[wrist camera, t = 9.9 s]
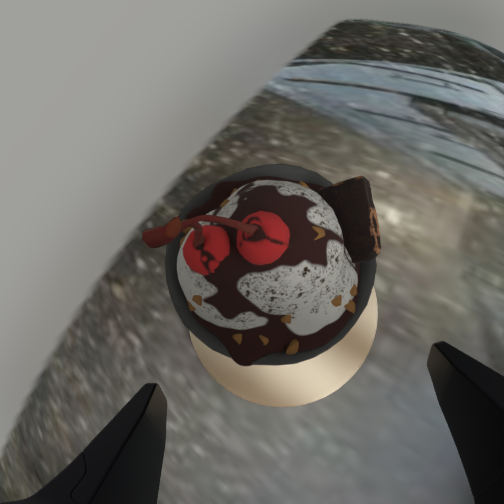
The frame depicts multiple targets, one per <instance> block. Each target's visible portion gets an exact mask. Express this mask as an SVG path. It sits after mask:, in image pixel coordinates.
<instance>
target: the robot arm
mask: <svg viewBox="0 0 504 504" xmlns="http://www.w3.org/2000/svg"><path fill="white" fill-rule="evenodd" d="M427 367H428V370H429V373H430V376H431V379H432V382H433V386H434V389H435V392H436V395H437V399H438V402H439V405H440V407H441V410H442V412H443V414H444V417H445V419H446V422H447V424H448V427H449V429H450V432H451V434H452V437H453V439H454V442H455V445H456V447H457V450H458V453H459V455H460V458H461V461H462V464H463V467H464V469H465V472H466V475H467V478H468V481H469V484H470V488H471V491H472V494H473V497H474V501H475V504H504V376H502V375H500V374H499V373H497V372H495V371H494V370H492V369H490V368H489V367H487V366H485V365H484V364H482V363H480V362H479V361H477V360H475V359H474V358H472V357H470V356H468V355H467V354H465V353H463V352H462V351H460V350H458V349H457V348H455V347H453V346H451V345H450V344H448V343H446V342H444V341H440V342H437V343H434V344H433V345H432V346H431V349H430V353H429V356H428V360H427ZM166 417H167V400H166V398H165V396H164V394H163V392H162V390H161V388H160V386H159V385H158V384H157V383H147V384H145V385H144V386H143V387H142V388H141V389H140V390H139V391H138V392H137V393H136V394H135V395H134V397H133V398H132V399H131V400H130V401H129V402H128V403H127V404H126V405H125V406H124V407H123V408H122V409H121V410H120V412H119V413H118V414H117V415H116V416H115V417H114V418H113V419H112V420H111V421H110V422H109V423H108V424H107V425H106V427H105V428H104V429H103V430H102V431H101V432H100V433H99V434H98V435H97V436H96V437H95V438H94V439H93V440H92V441H91V442H90V444H89V445H88V446H87V447H86V448H85V449H84V450H83V452H81V453H80V454H79V455H78V456H77V457H76V458H75V459H74V460H73V461H72V462H71V463H70V464H69V465H68V466H67V467H66V468H65V469H64V470H63V471H62V472H61V473H59V474H58V475H57V476H56V477H55V478H54V479H52V480H51V481H50V482H49V483H48V484H46V485H45V486H44V487H43V488H41V489H40V490H39V491H38V492H37V493H35V494H34V495H32V496H30V497H28V498H26V499H23V500H18V501H10V502H1V503H0V504H157V498H158V491H159V484H160V477H161V470H162V463H163V457H164V450H165V441H166Z"/></svg>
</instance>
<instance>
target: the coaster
mask: <svg viewBox="0 0 504 504" xmlns="http://www.w3.org/2000/svg"><path fill="white" fill-rule="evenodd" d="M377 318H378V309H377V299H376V293H375V289H374V286H373V289H372V292H371V295H370V298H369V301H368V304H367V306H366V308H365V310H364V311H363V313H362V314H361V316H360V317H359V319H358V321H357V322H356V324H355V325H354V326H353V327H352V328H351V330H350V331H349V332H348V333H347V334H346V336H345V337H344V338H343V339H342V340H340V341H339V342H338V343H337V344H335V345H334V346H333V347H331V348H330V349H329V350H327V351H325V352H323V353H322V354H320V355H318V356H316V357H314V358H312V359H309V360H306V361H303V362H300V363H297V364H289V365H278V366H271V365H252V366H246V367H245V366H240V365H238V364H237V363H236V362H234V361H233V360H232V359H231V358H229V357H227V356H225V355H222V354H220V353H218V352H216V351H213V350H211V349H210V348H209V347H208V346H206V345H205V344H204V343H203V342H201V341H200V340H199V339H198V338H197V337H195V336H194V334H193V333H192V332H191V331H190V330H189V332H190V338H191V341H192V344H193V347H194V349H195V352H196V354H197V356H198V358H199V360H200V361H201V363H202V364H203V366H204V367H205V369H206V370H207V372H208V373H209V374H210V375H211V376H212V377H213V378H214V379H215V380H216V381H217V382H218V383H219V384H220V385H222V386H223V387H224V388H225V389H227V390H228V391H230V392H231V393H233V394H235V395H236V396H238V397H240V398H243V399H245V400H247V401H250V402H253V403H256V404H260V405H265V406H272V407H291V406H299V405H304V404H307V403H311V402H314V401H317V400H319V399H321V398H324V397H326V396H328V395H329V394H331V393H333V392H334V391H336V390H337V389H339V388H340V387H341V386H343V385H344V384H345V383H346V382H347V381H348V380H349V379H350V378H351V377H352V376H353V375H354V374H355V373H356V372H357V370H358V369H359V368H360V366H361V365H362V364H363V362H364V360H365V358H366V357H367V355H368V353H369V351H370V348H371V346H372V343H373V340H374V337H375V332H376V328H377Z"/></svg>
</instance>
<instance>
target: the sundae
mask: <svg viewBox="0 0 504 504" xmlns="http://www.w3.org/2000/svg"><path fill="white" fill-rule="evenodd" d="M142 240H143V241H144V242H145V243H146V244H147V245H148V246H149V247H151V248H157V247H160V246H163V245H166V244H167V249H166V262H165V265H166V281H167V285H168V289H169V292H170V296H171V299H172V301H173V304H174V306H175V309H176V311H177V313H178V315H179V316H180V318H181V320H182V322H183V323H184V325H185V326H186V327H187V328H188V329H189V330H190V331H191V332H192V333H193V334H194V336H195V337H197V338H198V339H199V340H200V341H201V342H203V343H204V344H205V345H206V346H208V347H209V348H210V349H211V350H213V351H216V352H218V353H220V354H222V355H225V356H227V357H229V358H231V359H232V360H233V361H234V362H236V363H237V364H238V365H240V366H245V367H246V366H252V365H271V366H278V365H289V364H297V363H300V362H303V361H306V360H309V359H312V358H314V357H316V356H318V355H320V354H322V353H323V352H325V351H327V350H329V349H330V348H331V347H333V346H334V345H335V344H337V343H338V342H339V341H340V340H342V339H343V338H344V337H345V336H346V334H347V333H348V332H349V331H350V330H351V328H352V327H353V326H354V325H355V324H356V322H357V321H358V319H359V317H360V316H361V314H362V313H363V311H364V310H365V308H366V306H367V304H368V301H369V298H370V295H371V292H372V289H373V285H374V279H375V273H376V266H377V265H376V256H377V255H378V254H379V253H380V249H381V244H380V233H379V225H378V219H377V214H376V210H375V207H374V203H373V200H372V194H371V188H370V183H369V181H368V180H367V179H366V178H365V177H363V176H359V177H355V178H352V179H348V180H345V181H342V182H339V183H336V184H333V183H331V182H330V181H328V180H327V179H325V178H324V177H322V176H321V175H319V174H318V173H316V172H313V171H310V170H307V169H304V168H301V167H298V166H292V165H286V164H270V165H261V166H257V167H252V168H248V169H245V170H242V171H240V172H237V173H235V174H232V175H230V176H228V177H226V178H224V179H222V180H219V181H218V182H216V183H214V184H212V185H210V186H208V187H206V188H205V189H204V190H202V191H201V192H200V193H199V194H197V195H196V196H195V197H194V198H193V199H192V200H191V201H190V202H189V203H188V204H187V205H186V206H185V207H184V208H183V209H182V211H181V212H180V214H179V216H178V217H174V218H173V219H172V220H171V221H170V222H169V223H167V224H166V225H165V226H158V227H155V228H150V229H147V230H145V231H143V235H142Z"/></svg>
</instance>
